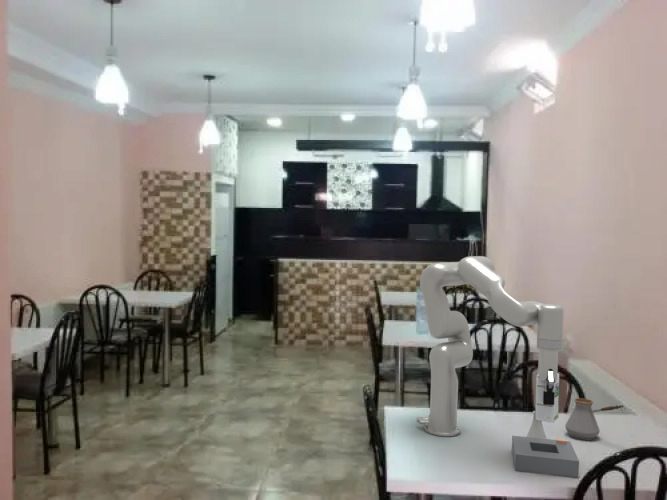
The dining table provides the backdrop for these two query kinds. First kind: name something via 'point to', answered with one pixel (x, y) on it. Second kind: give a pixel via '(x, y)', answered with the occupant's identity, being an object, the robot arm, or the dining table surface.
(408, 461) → the dining table surface
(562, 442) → the socket block
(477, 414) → the dining table surface
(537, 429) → the flask
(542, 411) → the syrup box
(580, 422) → the coffee pot
